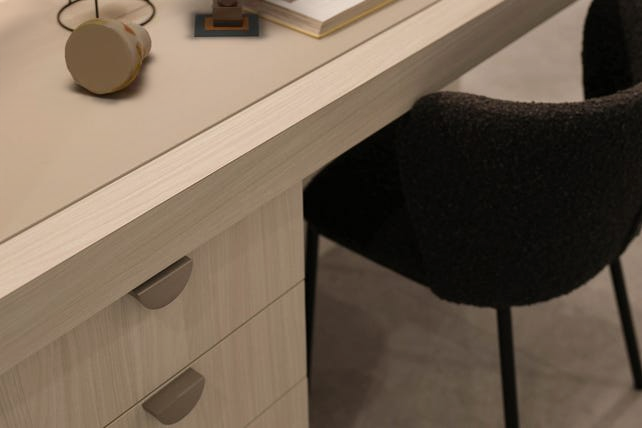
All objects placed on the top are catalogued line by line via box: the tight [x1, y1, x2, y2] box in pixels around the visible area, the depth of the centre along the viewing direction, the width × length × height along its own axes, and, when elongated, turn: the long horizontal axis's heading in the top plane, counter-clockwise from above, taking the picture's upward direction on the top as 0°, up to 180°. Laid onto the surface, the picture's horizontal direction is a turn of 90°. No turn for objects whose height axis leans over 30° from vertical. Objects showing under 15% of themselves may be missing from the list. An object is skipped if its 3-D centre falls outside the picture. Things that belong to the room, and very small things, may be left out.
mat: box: [193, 13, 260, 38], centre depth 96 cm, size 7×5×1 cm
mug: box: [64, 17, 153, 95], centre depth 85 cm, size 8×10×10 cm
